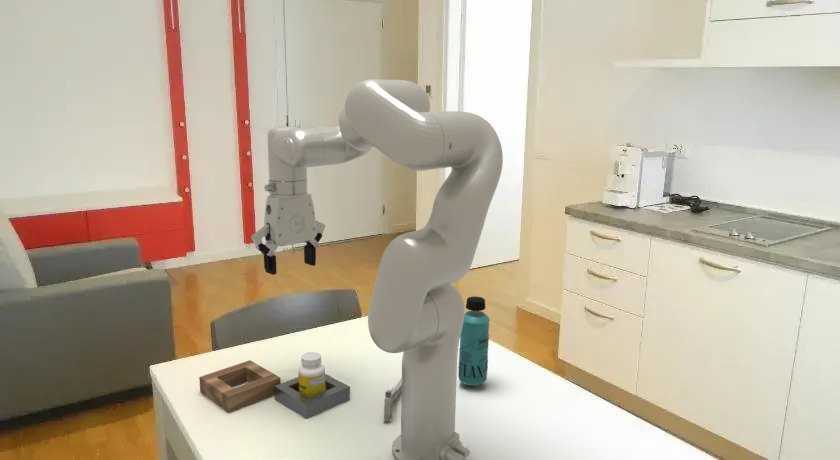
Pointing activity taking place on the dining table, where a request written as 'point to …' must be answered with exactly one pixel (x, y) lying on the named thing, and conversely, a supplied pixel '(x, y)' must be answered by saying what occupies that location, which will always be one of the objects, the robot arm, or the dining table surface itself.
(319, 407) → the socket block
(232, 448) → the dining table surface
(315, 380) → the supplement bottle
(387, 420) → the caliper
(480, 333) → the beverage bottle
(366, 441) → the dining table surface
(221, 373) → the block
